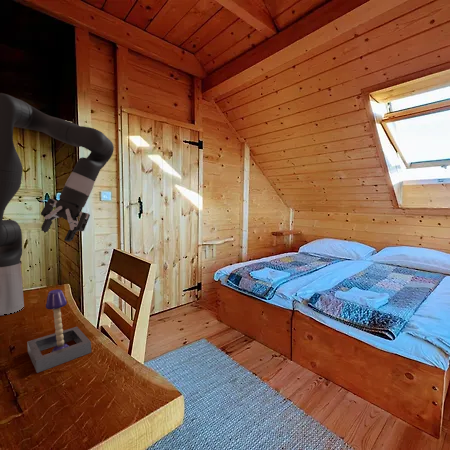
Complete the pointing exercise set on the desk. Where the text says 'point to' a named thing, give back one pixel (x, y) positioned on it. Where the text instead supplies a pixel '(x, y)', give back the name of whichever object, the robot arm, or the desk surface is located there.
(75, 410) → the desk surface
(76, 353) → the square frame
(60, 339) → the toy lamp
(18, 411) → the desk surface
